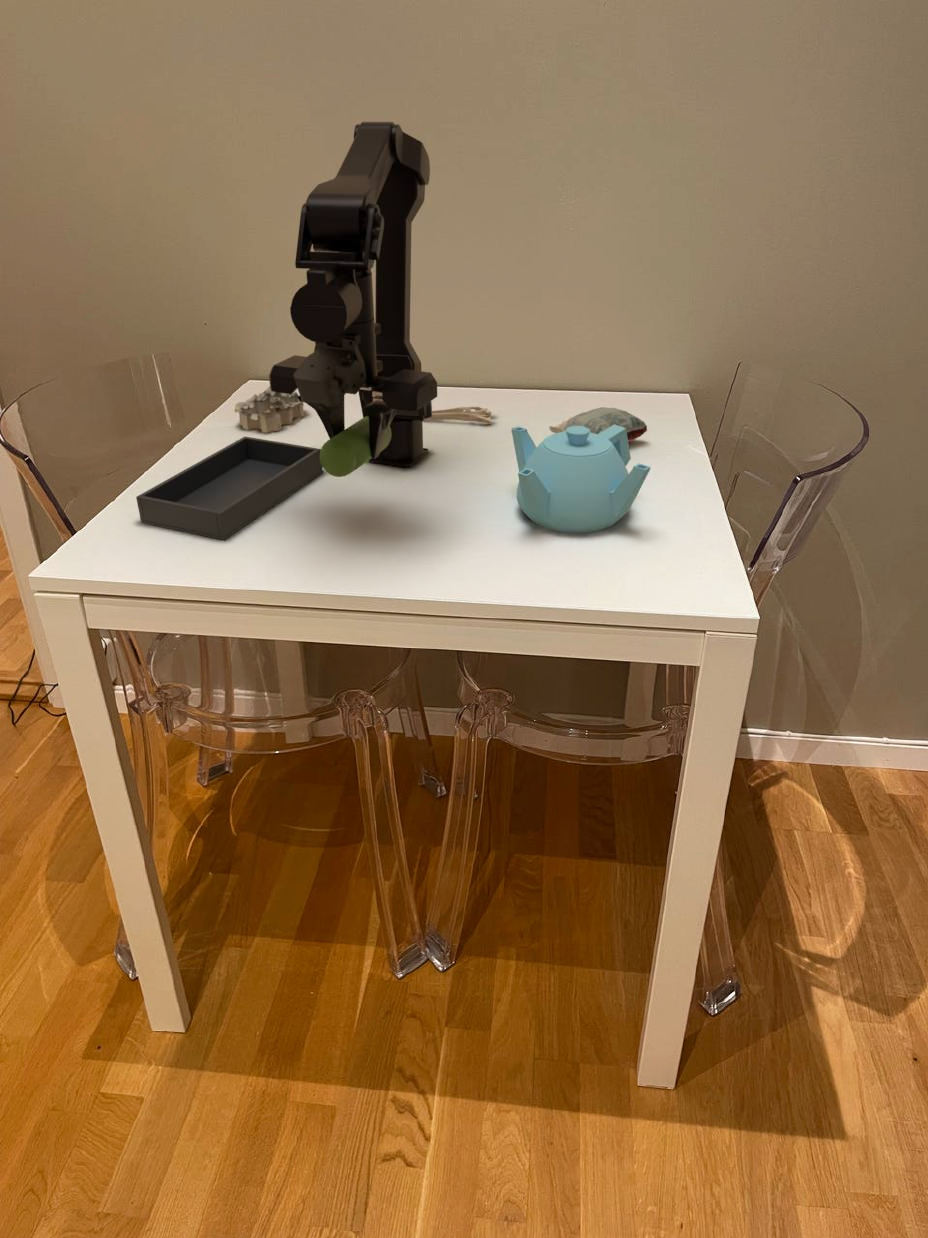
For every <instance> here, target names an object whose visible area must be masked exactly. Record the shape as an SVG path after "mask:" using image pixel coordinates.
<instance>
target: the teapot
mask: <svg viewBox="0 0 928 1238" xmlns="http://www.w3.org/2000/svg"><path fill="white" fill-rule="evenodd" d="M511 436H512V441H513V447H514V451H515V457H516V462H517V468H518V469H517V470H518V473H517V476H518V484H517V488H516V501H517V504H518V506H519V507H520V509H521V511H523V513H524V514H525V515H526V516H527V518H529V519H530V520H531V521H532V522H533V523H534V524H537V525H538V526H540V527H542V528H545V529H548V530H552V531H556V532H562V533H572V534H582V533H583V534H584V533H593V532H598V531H602V530H605V529H608V528H609V527H611V526H613V525H615V524H616V523H617V522H619V520H620V519H622V518H623V517H624V516H625V515H626V514H627V513H628V511H629V510H630V509H631V508H632V506H633V504H634V502H635V499H636V498H637V496H638V494H639V492H640V490H641V488H642V486H643V484H644V482H645V480H646V478H647V477H648V474H649V473H650V471H651V466H649V465H647V464H643V463H640V462H638V463H637V464H634V465H633V466H632V469H631V470H630V471H628V469H627V466H628V464H629V462H630V461H631V459H632V458H631V457H632V456H631V451H630V445H629V442H628V437H627V431H626V428H624V427H621V426H618V425H615V424H614V425H612V426H611V427H609V428H608V429H606V430H604V431H603V432H601V433H600V434H594V433H590V429H588V428H586V427H583V426H571V427H568V428H567V429H566V432H560V433H553V434H550V435H548V436H546V437H545V438H544V439H543V440H542V441H541V442H540V443H539V444H538V446H537V445H536V443H535V442H534V440H533V439H532V437H531V435H530V433H529V432H528V428H526V427H522V426H519V425H518V426H515V427H512V428H511Z"/></svg>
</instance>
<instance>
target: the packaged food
mask: <svg viewBox="0 0 928 1238" xmlns="http://www.w3.org/2000/svg"><path fill="white" fill-rule="evenodd" d="M614 424H615V425H618V426H621V427H624V428H626V431H627V437H628V443H629V442H631V441H634V440H636V439H638V438H640V437H641V436H643V435H644V434H645V433H647V432H648V426H647V424H646V423H645V421H644V420H642V419H640V418H639V417H637V416H635V415H634V414H632V413H630V412H629V411H627V410H622V409H619V408H617V407H605V406H602V407H597V408H592V409H590V410H588V411H584V412H581V413H579V414H576V415H574V416H571V417H569V418H568V419H567V420H563V421H562V422H561V423H558V425H556V426H551V425H549V431H550V432H551V433H553V434H555V433H560V432H566V429H567V428H568V427H571V426H583V427H586V428H588V429H590V433H594V434H600V433H601V432H603V431H604V430H606V429H608V428H609V427H611V426H612V425H614Z"/></svg>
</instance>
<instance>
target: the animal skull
mask: <svg viewBox="0 0 928 1238" xmlns="http://www.w3.org/2000/svg"><path fill="white" fill-rule="evenodd" d="M492 413H493V412H492V411H491V410H489V409H488V408H487V407H486V408H484V407H480V406H458V407H453V408H451V407H450V408H445V409H435V410H432V417H429V418H425V420H429V421H430V420H441V421H443V420H445V421H447V420H448V421H449V420H451V421H462V422H476V423H482V424H483V423H485V424H489V425H491V424H492ZM485 416H487V417H485Z"/></svg>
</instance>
